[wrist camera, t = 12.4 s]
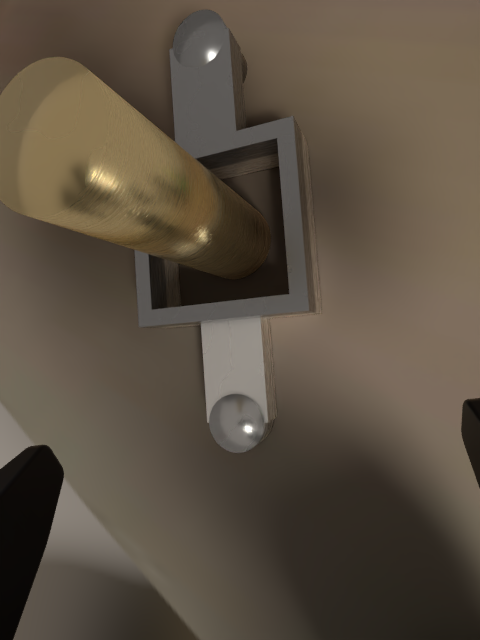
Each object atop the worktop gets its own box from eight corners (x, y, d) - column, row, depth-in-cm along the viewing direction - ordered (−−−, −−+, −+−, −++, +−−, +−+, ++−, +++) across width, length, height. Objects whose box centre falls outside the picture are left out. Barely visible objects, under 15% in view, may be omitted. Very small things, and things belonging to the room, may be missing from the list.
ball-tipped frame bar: (333, 445, 21) (321, 462, 18) (176, 443, 24) (146, 457, 21) (297, 23, 22) (281, -22, 19) (154, 73, 25) (122, 40, 22)
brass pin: (284, 250, 22) (133, 145, 10) (223, 293, 23) (19, 247, 11) (246, 189, 23) (64, 22, 11) (189, 233, 24) (-35, 129, 12)
